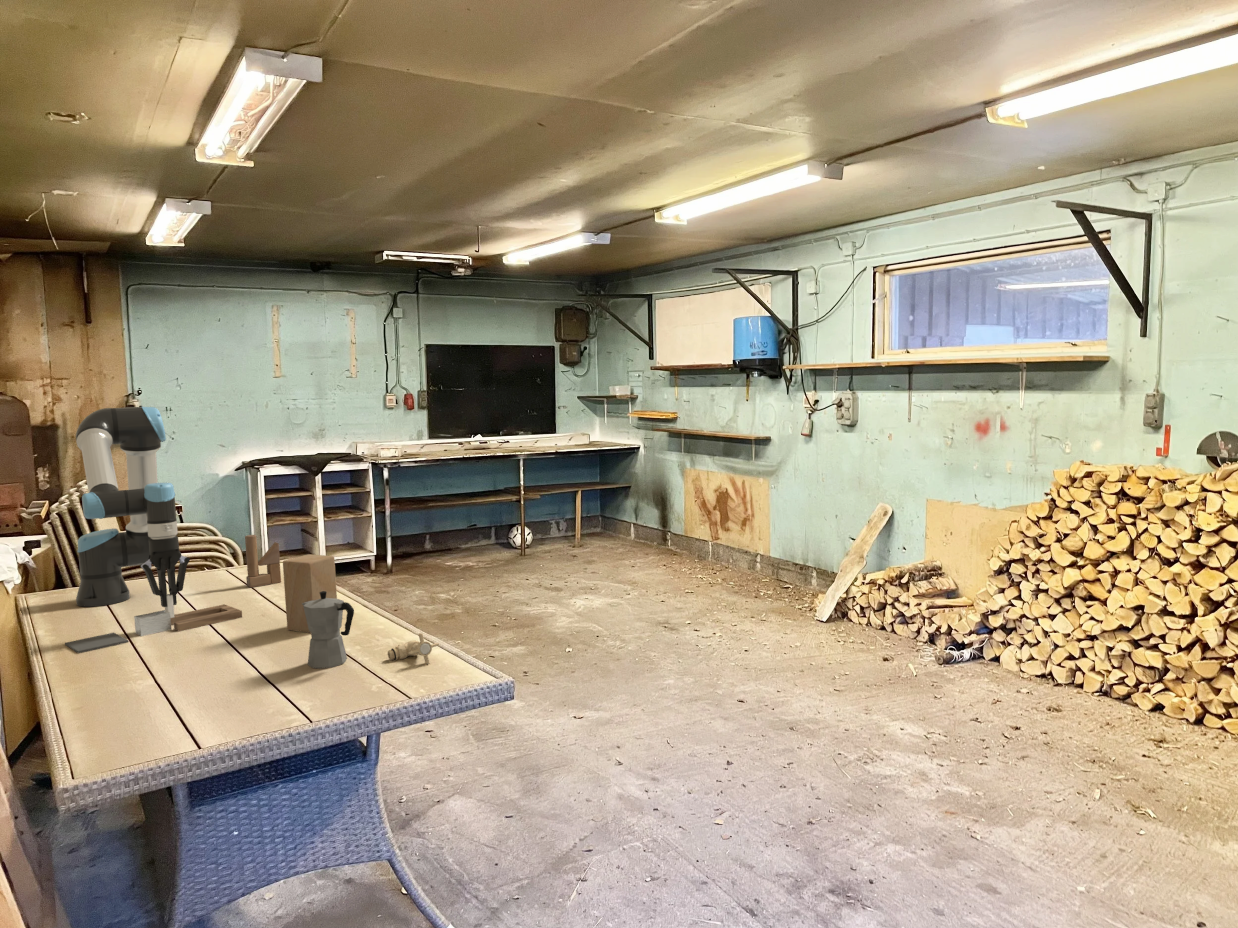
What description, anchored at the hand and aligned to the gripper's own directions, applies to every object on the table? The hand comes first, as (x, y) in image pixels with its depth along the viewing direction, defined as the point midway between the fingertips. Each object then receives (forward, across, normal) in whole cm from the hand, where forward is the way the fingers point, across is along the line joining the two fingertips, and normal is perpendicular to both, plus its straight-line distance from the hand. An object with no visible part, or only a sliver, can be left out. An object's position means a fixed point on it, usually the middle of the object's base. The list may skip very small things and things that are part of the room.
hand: (170, 616), depth 244 cm
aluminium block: (+3, -5, 0) cm, 6 cm away
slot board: (+3, +9, 0) cm, 9 cm away
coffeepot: (+3, +13, -68) cm, 70 cm away
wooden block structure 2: (+3, +42, +32) cm, 53 cm away
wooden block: (+3, +26, -34) cm, 43 cm away
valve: (+4, +27, -82) cm, 87 cm away
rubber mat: (+3, -19, 0) cm, 19 cm away
